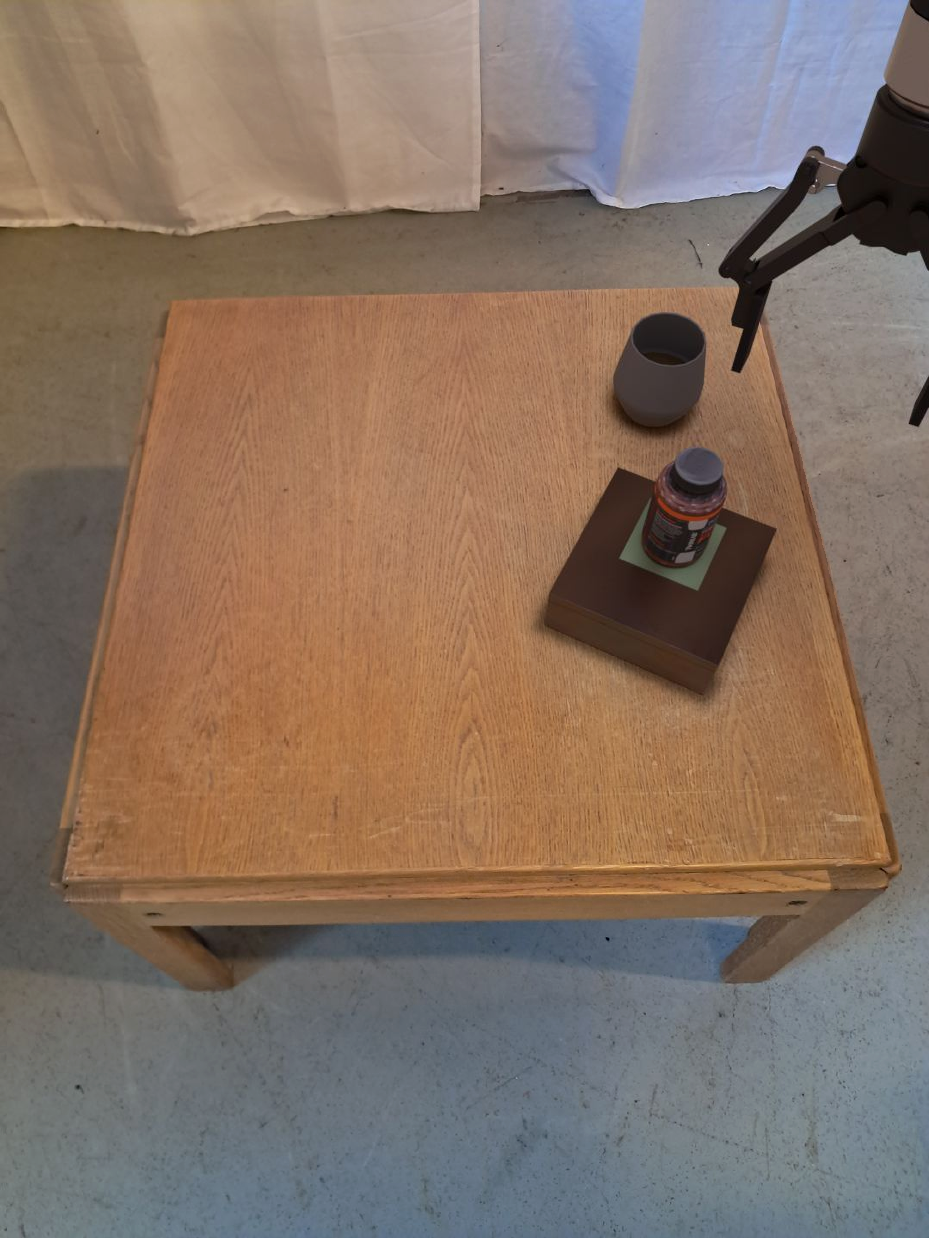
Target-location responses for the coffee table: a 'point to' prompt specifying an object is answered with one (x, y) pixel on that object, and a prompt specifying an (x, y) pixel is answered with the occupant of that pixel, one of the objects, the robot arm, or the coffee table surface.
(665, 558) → the supplement bottle
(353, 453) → the coffee table surface
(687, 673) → the dark wooden box
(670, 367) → the cup
